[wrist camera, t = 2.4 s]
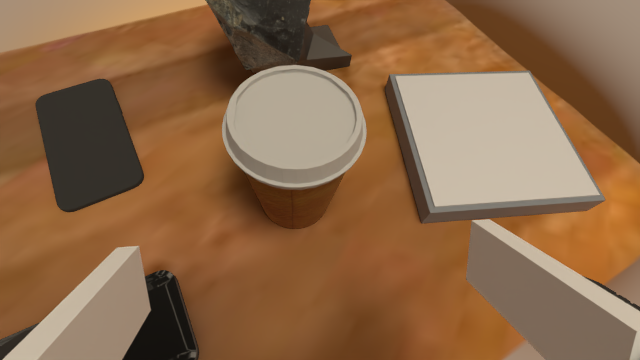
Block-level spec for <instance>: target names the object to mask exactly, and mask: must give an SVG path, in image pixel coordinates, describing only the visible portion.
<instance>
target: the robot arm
mask: <svg viewBox="0 0 640 360" xmlns="http://www.w3.org/2000/svg"><path fill="white" fill-rule="evenodd" d="M466 280H467V281H468V282H469V283H470V284H471V285H472V286H473V287H474V288H475V289H476V290H477V291H478V292H479V293H480V294H481V295H482V296H483V297H484V298H485V299H486V300H487V301H488V302H489V303H490V304H491V305H492V306H493V307H494V308H495V309H496V310H497V311H498V312H499V313H500V314H501V315H502V316H503V317H504V318H505V319H506V320H507V321H508V322H509V323H510V324H511V325H512V326H513V327H514V328H515V329H516V330H517V331H518V332H519V333H520V334H521V335H522V336H523V337H524V338H525V339H526V340H527V341H528V342H529V343H530V344H531V345H532V346H533V347H534V348H535V349H536V350H537V351H538V352H539V353H540V354H541V355H542V356H543V357H544V358H545V359H546V360H640V307H639V306H637V305H636V304H631V303H630V301H629V300H627V299H626V298H624V297H622V296H620V295H617V294H616V292H614V291H612V290H611V289H609V288H607V287H606V286H604V285H602V284H601V283H599V282H596V281H594V280H591V279H589V278H586V277H584V276H581V275H580V274H578V273H576V272H575V271H573V270H571V269H570V268H568V267H567V266H565V265H563V264H562V263H560V262H558V261H557V260H555V259H553V258H552V257H550V256H548V255H547V254H545V253H544V252H542V251H540V250H539V249H537V248H535V247H534V246H532V245H530V244H529V243H527V242H526V241H524V240H522V239H521V238H519V237H517V236H516V235H514V234H512V233H511V232H509V231H508V230H506V229H504V228H503V227H501V226H499V225H498V224H496V223H494V222H493V221H491V220H490V219H486V220H473V221H472V224H471V234H470V244H469V255H468V265H467V275H466ZM150 311H151V308H150V303H149V297H148V292H147V287H146V281H145V276H144V271H143V265H142V260H141V255H140V249H139V246H132V247H119V248H116V249H115V250H114V251H113V252H112V253H111V254H110V255H109V256H108V257H107V258H106V259H105V260H104V261H103V262H102V263H101V264H100V265H99V266H98V267H97V268H96V269H95V270H94V271H93V272H92V273H91V274H90V275H89V276H88V277H87V278H85V279H84V280H83V281H82V282H81V283H80V284H79V285H78V286H77V287H76V288H75V289H74V290H73V291H72V292H71V293H70V294H69V295H68V296H67V297H66V298H65V299H64V300H63V301H62V302H61V303H60V304H59V305H58V306H57V307H56V308H55V309H54V310H53V311H52V312H51V313H50V314H49V315H48V316H47V317H46V318H45V319H44V320H42V321H41V322H40V323H39V324H38V325H37V326H36V327H35V328H34V329H33V330H26V331H24V332H22V333H21V334H19V335H17V336H16V337H14V338H13V339H11V340H10V341H8V342H6V343H5V344H3V345H2V346H1V347H0V360H122V359H123V357H124V355H125V354H126V352H127V350H128V349H129V347H130V345H131V343H132V342H133V340H134V338H135V336H136V335H137V333H138V331H139V330H140V328H141V326H142V324H143V323H144V321H145V319H146V317H147V316H148V314H149V312H150Z"/></svg>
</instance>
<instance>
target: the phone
mask: <svg viewBox="0 0 640 360" xmlns="http://www.w3.org/2000/svg"><path fill="white" fill-rule="evenodd" d="M36 110H37V115H38V119H39V124H40V129H41V133H42V138H43V142H44V147H45V152H46V156H47V161H48V165H49V170H50V175H51V179H52V184H53V188H54V193H55V198H56V202H57V205H58V207H59V208H60V209H62V210H63V211H65V212H74V211H77V210H80V209H82V208H85V207H88V206H90V205H93V204H95V203H98V202H100V201H103V200H105V199H108V198H111V197H113V196H116V195H118V194H121V193H123V192H126V191H128V190H131V189H133V188H135V187H137V186H139V185H140V184H141V183H142V181H143V179H144V173H143V170H142V167H141V165H140V162H139V159H138V156H137V153H136V151H135V148H134V145H133V142H132V140H131V137H130V134H129V131H128V129H127V126H126V123H125V120H124V117H123V115H122V111H121V108H120V105H119V103H118V101H117V98H116V95H115V93H114V90H113V87H112V85H111V84H110V82H109V81H108V80H105V79H97V80H93V81H90V82H86V83H83V84H79V85H76V86H72V87H69V88H66V89H62V90H59V91H55V92H52V93H49V94H45V95H43V96H41V97H40V98H39V99H38V100H37V101H36Z"/></svg>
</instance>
